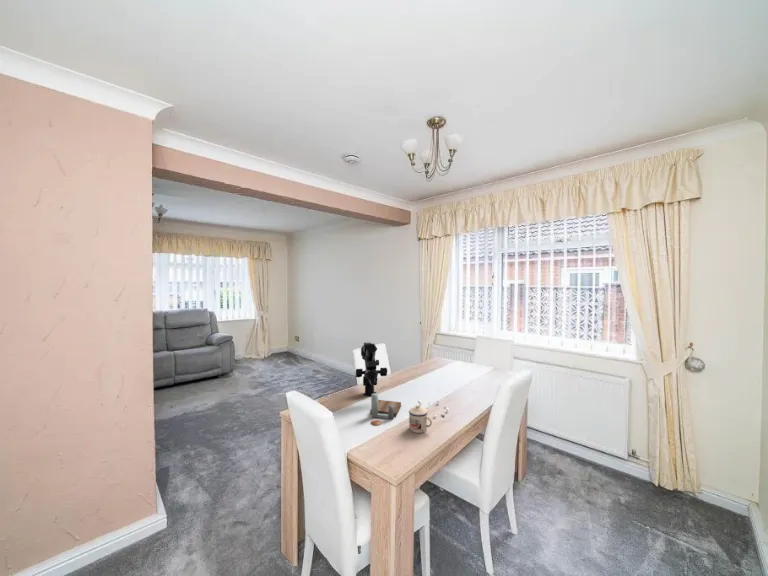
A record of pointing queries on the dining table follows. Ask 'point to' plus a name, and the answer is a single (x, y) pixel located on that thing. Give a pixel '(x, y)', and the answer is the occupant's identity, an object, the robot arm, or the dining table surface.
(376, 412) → the grey u-shaped piece
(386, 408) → the stool seat
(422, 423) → the teacup with lid
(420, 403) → the game piece set
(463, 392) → the dining table surface
